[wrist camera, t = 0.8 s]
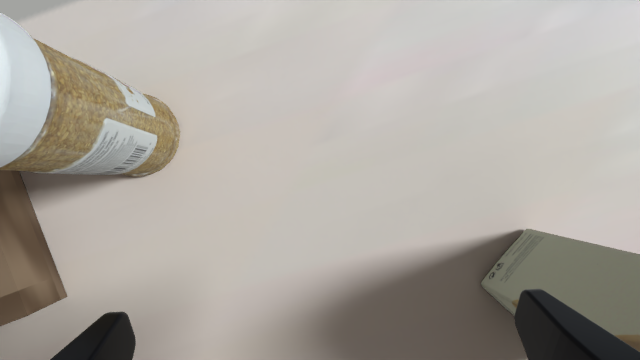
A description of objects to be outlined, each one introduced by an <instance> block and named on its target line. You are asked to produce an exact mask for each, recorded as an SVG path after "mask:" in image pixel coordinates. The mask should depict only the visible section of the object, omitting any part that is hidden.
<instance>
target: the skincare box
mask: <svg viewBox="0 0 640 360" xmlns="http://www.w3.org/2000/svg"><path fill="white" fill-rule="evenodd" d="M481 285H482V287H483V288H484V289H486V290H487V291H488V292H489V293H490V294H491V295H492V296H493V297H494V298H495V299H496V300H497V301H498V302H499V303H500V304H501V305H502V306H504V307H505V308H506V309H507V310H508V311H509V312H510V313H511V314H512V315H514V316H515V312H516V308H517V304H518V301H519V297H520V294H521V292H522V291H523V290H525V289H542V290H544V291H546V292H547V293H549V294H550V295H552V296H553V297H555V298H557V299H558V300H560V301H561V302H563V303H564V304H566V305H568V306H569V307H571V308H572V309H574V310H575V311H577V312H578V313H580V314H582V315H583V316H585V317H586V318H588V319H589V320H591V321H592V322H594V323H596V324H597V325H599V326H600V327H602V328H603V329H605V330H607V331H608V332H610V333H611V334H613V335H614V336H616V337H617V338H619V339H621V340H622V341H624V342H625V343H627V344H628V345H630V346H631V347H633V348H635V349H636V350H638V351H639V352H640V254H636V253H631V252H627V251H622V250H618V249H614V248H610V247H605V246H601V245H597V244H592V243H588V242H584V241H579V240H575V239H570V238H566V237H562V236H558V235H553V234H549V233H545V232H540V231H536V230H532V229H526V230H525V231H524V232H523V233H522V235H521V236H520V237H519V238H518V239H517V240H516V241H515V242H514V243H513V244H512V246H511V247H510V248H509V249H508V250H507V251H506V252H505V254H504V255H503V256H502V257H501V258H500V259H499V261H498V262H497V263H496V264H495V265H494V267H493V268H492V269H491V270H490V272H489V273H488V274H487V276H486V277H485V278H484V279H483V281H482V282H481Z"/></svg>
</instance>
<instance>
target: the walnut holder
mask: <svg viewBox="0 0 640 360" xmlns="http://www.w3.org/2000/svg"><path fill="white" fill-rule="evenodd" d="M65 297H67V294H66V292H65V289H64V287H63V284H62V281H61V279H60V276H59V274H58V271H57V269H56V266H55V263H54V261H53V258H52V256H51V253H50V250H49V248H48V245H47V243H46V240H45V238H44V235H43V232H42V230H41V227H40V225H39V222H38V220H37V217H36V214H35V212H34V209H33V207H32V204H31V201H30V199H29V196H28V194H27V191H26V189H25V186H24V183H23V181H22V178H21V176H20V173H19V171H16V170H0V326H2V325H5V324H7V323H10V322H12V321H15V320H18V319H20V318H23V317H25V316H28V315H30V314H32V313H34V312H36V311H38V310H40V309H42V308H45V307H47V306H49V305H51V304H53V303H55V302H57V301H59V300H61V299H63V298H65Z"/></svg>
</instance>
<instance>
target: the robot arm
mask: <svg viewBox="0 0 640 360" xmlns="http://www.w3.org/2000/svg"><path fill="white" fill-rule="evenodd" d="M514 319H515V325H516V328H517V330H518V333H519V336H520V338H521V341H522V343H523V346H524V349H525V351H526V354H527V357H528V359H529V360H640V352H639V351H638V350H636V349H635V348H633V347H631V346H630V345H628V344H627V343H625V342H624V341H622V340H621V339H619V338H617V337H616V336H614V335H613V334H611V333H610V332H608V331H607V330H605V329H603V328H602V327H600V326H599V325H597V324H596V323H594V322H592V321H591V320H589V319H588V318H586V317H585V316H583V315H582V314H580V313H578V312H577V311H575V310H574V309H572V308H571V307H569V306H568V305H566V304H564V303H563V302H561V301H560V300H558V299H557V298H555V297H553V296H552V295H550V294H549V293H547V292H546V291H544V290H542V289H525V290H523V291H522V292H521V294H520V297H519V301H518V304H517V308H516V312H515V318H514ZM134 350H135V335H134V332H133V329H132V326H131V323H130V320H129V317H128V315H127V314H126V313H125V312H109V313H106V314H104V315H103V316H101V317H100V318H99V319H98V320H97V321H96V322H94V323H93V324H92V325H91V326H90V327H88V328H87V329H86V330H85V331H84V332H82V333H81V334H80V335H79V336H78V337H77V338H75V339H74V340H73V341H72V342H71V343H69V344H68V345H67V346H66V347H65V348H64V349H62V350H61V351H60V352H59V353H58V354H56V355H55V356H54V357H53V358H52V359H50V360H132V358H133V354H134Z"/></svg>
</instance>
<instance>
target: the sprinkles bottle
mask: <svg viewBox="0 0 640 360" xmlns="http://www.w3.org/2000/svg"><path fill="white" fill-rule="evenodd" d="M179 137H180V130H179V126H178V123H177V120H176V118H175V116H174V115H173V113H172V112H171V110H170V109H169V107H168V106H167V105H165V104H164V103H163V102H162V101H160V100H158V99H157V98H155V97H152V96H150V95H146V94H142V93H140V92H139V91H138V90H136V89H135V88H133V87H131V86H129V85H127V84H125V83H123V82H121V81H119V80H117V79H115V78H113V77H111V76H109V75H107V74H105V73H103V72H101V71H99V70H97V69H95V68H94V67H92V66H90V65H88V64H85V63H83V62H81V61H79V60H77V59H74V58H71V57H69V56H67V55H65V54H63V53H61V52H59V51H57V50H55V49H53V48H51V47H49V46H47V45H45V44H43V43H41V42H40V41H38V40H35V39H33V38H32V37H31V36H30V35H29V34H28V32H27V31H26V30H25V29H24V28H22V27H21V26H20V25H19V24H18V23H16V22H15V21H14V20H12V19H11V18H9V17H7V16H6V15H4V14H2V13H0V170H16V171H28V172H33V173H50V174H100V175H113V174H124V175H127V176H145V175H150V174H153V173H155V172H157V171H160V170H161V169H162V168H164V167H165V166H166V165H167V164H168V163H169V162H170V161H171V160H172V158H173V156H174V155H175V153H176V150H177V148H178V143H179Z"/></svg>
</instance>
